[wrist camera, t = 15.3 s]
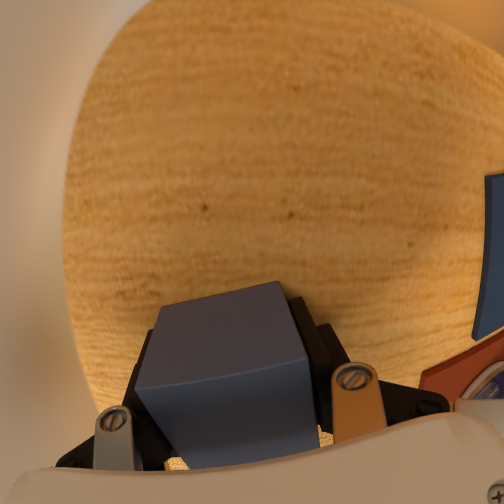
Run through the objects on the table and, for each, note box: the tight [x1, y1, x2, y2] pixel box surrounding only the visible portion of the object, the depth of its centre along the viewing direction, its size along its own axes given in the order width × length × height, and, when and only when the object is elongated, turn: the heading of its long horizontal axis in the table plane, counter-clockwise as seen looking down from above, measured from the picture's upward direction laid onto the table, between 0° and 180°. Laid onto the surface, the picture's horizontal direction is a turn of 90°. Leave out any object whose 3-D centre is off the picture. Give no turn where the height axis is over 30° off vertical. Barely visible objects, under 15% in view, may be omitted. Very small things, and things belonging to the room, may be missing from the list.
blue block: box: [135, 281, 320, 469], centre depth 10 cm, size 4×4×4 cm
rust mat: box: [419, 331, 504, 401], centre depth 15 cm, size 12×9×1 cm
